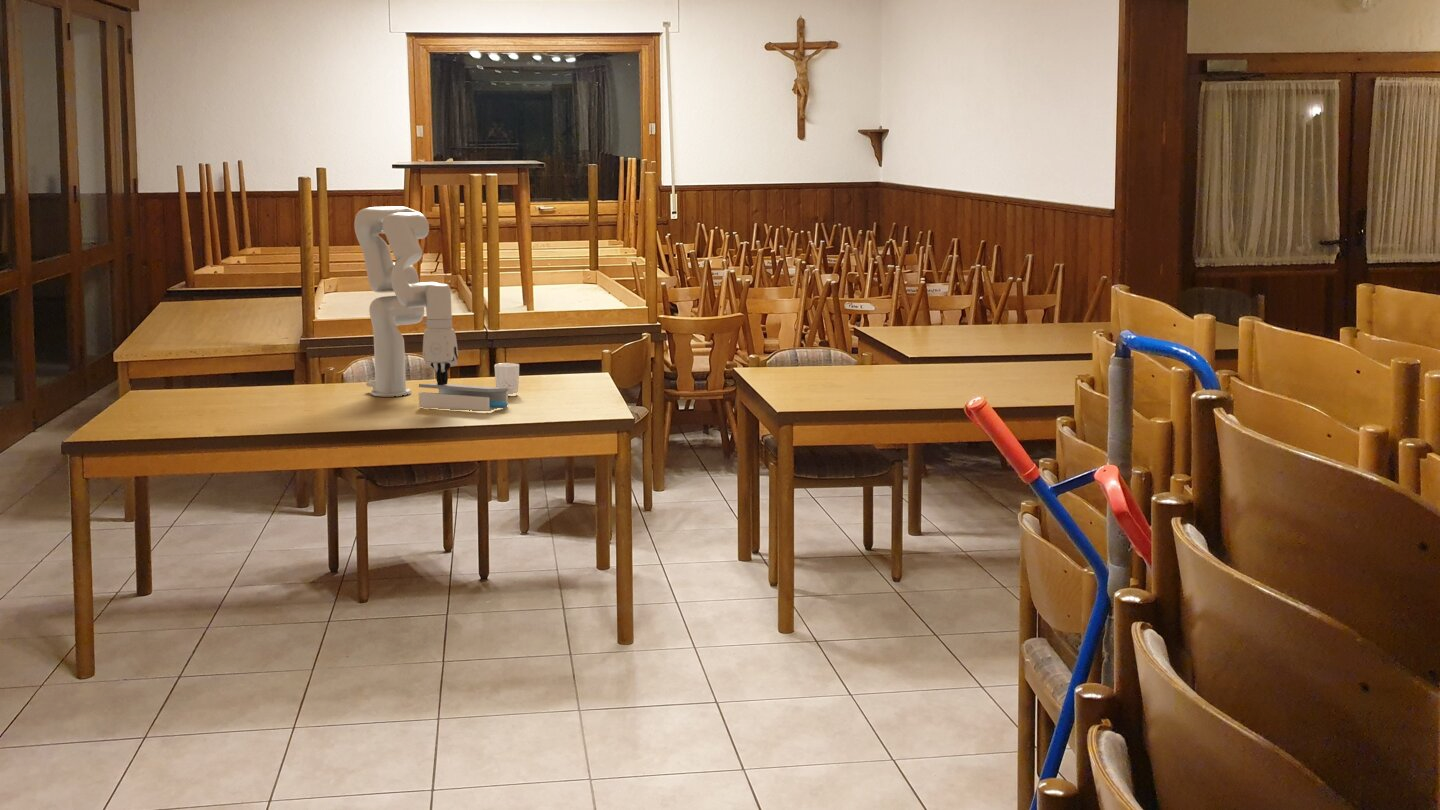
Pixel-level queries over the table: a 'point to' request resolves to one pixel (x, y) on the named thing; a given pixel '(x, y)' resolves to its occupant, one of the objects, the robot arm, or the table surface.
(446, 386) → the cover
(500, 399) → the pale long box
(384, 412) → the table surface
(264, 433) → the table surface
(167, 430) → the table surface
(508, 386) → the white cup
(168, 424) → the table surface
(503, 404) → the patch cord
